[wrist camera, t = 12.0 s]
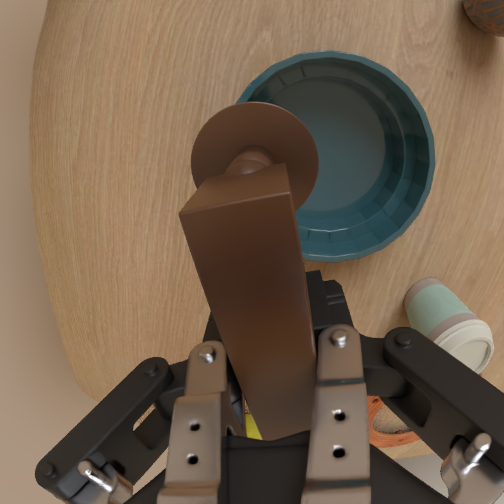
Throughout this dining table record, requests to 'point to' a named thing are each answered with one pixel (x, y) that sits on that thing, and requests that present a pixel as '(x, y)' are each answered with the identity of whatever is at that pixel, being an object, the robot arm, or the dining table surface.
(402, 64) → the dining table surface
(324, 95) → the mixing bowl
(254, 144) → the brown wooden bracket
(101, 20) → the dining table surface
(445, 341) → the coffee cup
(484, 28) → the vase
